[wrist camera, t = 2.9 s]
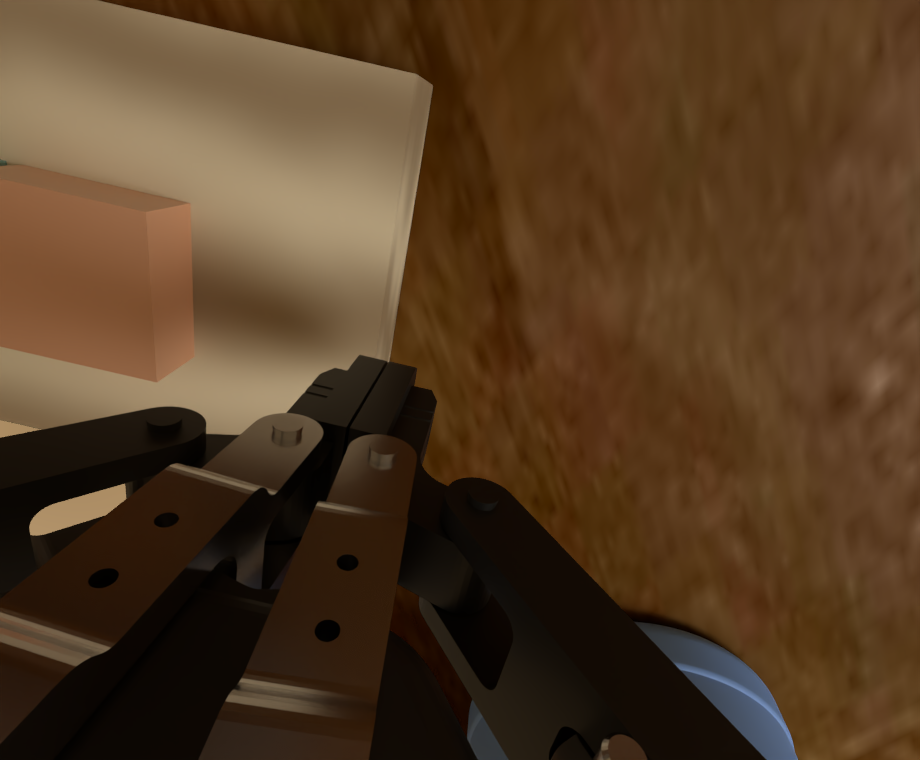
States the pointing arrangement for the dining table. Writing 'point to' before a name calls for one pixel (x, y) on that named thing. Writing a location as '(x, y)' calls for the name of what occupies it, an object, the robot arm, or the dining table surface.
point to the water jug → (712, 675)
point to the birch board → (221, 197)
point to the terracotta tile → (95, 273)
